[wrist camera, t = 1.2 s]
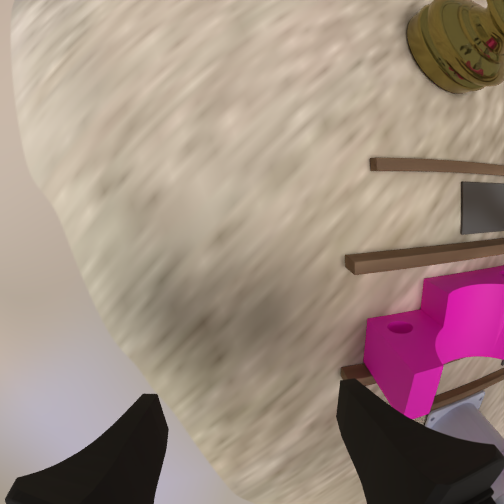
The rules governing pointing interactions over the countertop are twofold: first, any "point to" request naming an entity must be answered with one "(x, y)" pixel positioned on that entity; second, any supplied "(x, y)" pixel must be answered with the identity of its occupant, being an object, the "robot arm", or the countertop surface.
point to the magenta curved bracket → (436, 336)
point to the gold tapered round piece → (459, 43)
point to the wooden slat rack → (441, 247)
